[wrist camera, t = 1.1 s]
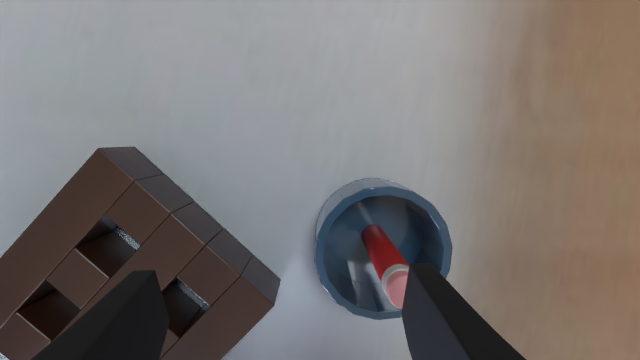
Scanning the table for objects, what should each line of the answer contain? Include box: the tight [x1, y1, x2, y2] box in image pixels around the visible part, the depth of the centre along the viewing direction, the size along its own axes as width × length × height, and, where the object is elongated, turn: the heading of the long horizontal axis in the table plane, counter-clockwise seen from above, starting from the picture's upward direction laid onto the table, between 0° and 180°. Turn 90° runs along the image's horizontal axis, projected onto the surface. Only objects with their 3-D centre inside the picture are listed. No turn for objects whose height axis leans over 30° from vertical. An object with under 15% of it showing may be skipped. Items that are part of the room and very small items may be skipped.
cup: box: [315, 178, 452, 320], centre depth 20 cm, size 7×7×4 cm
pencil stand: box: [0, 147, 281, 360], centre depth 20 cm, size 12×12×4 cm
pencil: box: [361, 225, 409, 309], centre depth 17 cm, size 1×1×8 cm
